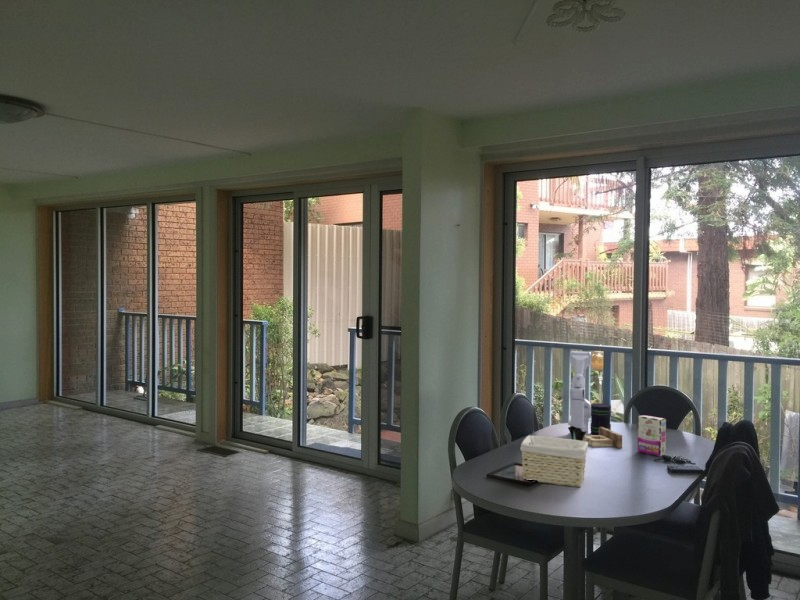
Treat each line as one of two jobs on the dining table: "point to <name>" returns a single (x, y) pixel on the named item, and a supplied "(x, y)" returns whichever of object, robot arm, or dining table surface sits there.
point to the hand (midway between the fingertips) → (577, 443)
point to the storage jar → (600, 417)
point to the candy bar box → (652, 435)
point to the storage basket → (554, 460)
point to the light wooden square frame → (598, 440)
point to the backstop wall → (612, 436)
